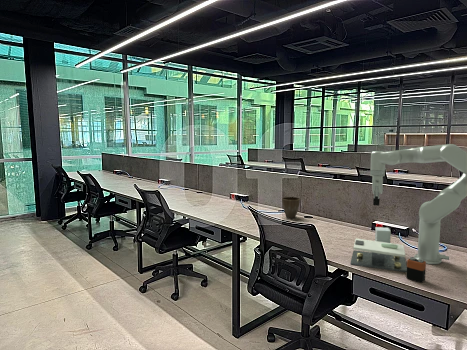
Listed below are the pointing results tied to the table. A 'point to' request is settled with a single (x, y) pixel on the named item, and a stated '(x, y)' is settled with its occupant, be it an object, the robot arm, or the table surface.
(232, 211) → the table surface
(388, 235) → the supplement box
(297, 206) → the plant pot
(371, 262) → the tribrach base
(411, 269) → the battery
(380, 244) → the level plate
